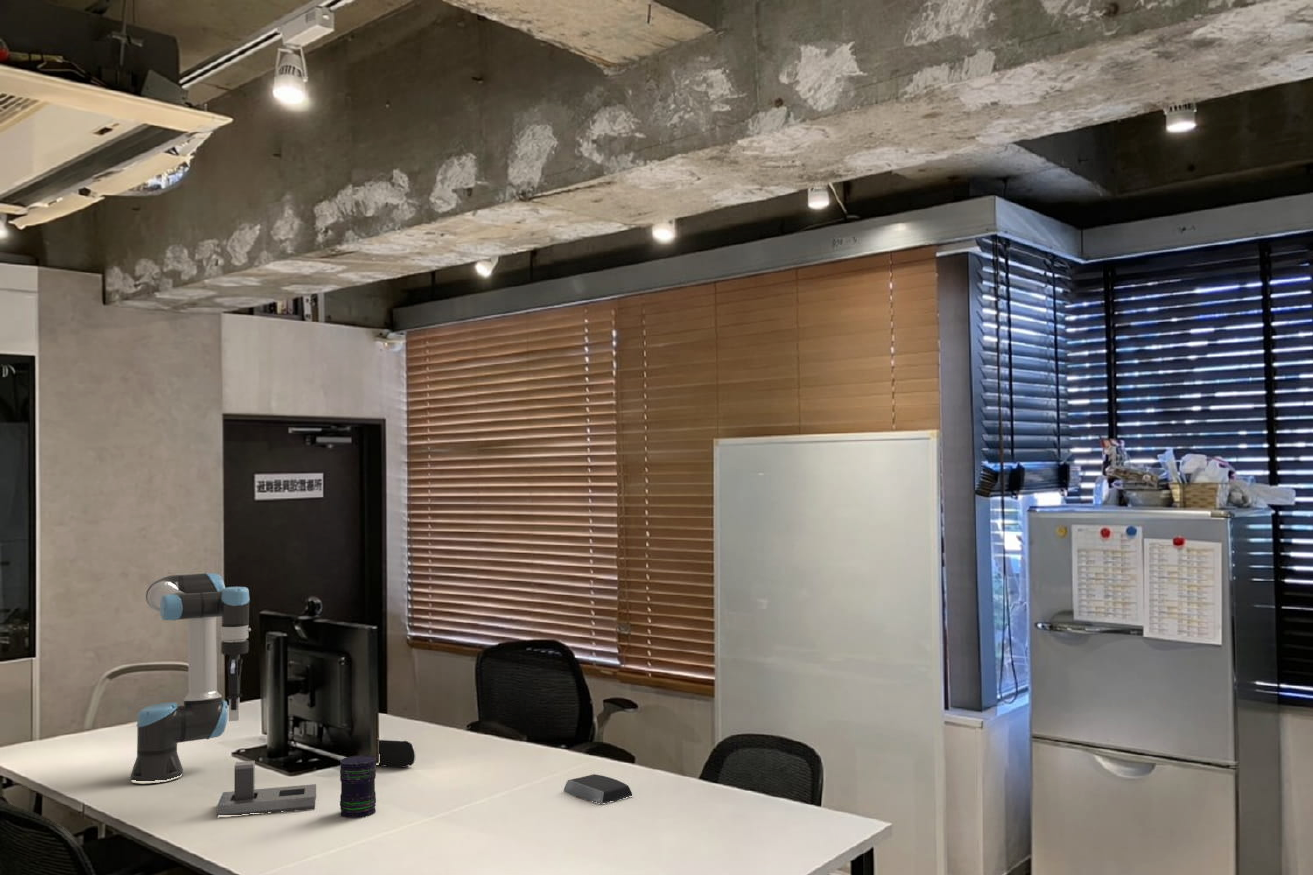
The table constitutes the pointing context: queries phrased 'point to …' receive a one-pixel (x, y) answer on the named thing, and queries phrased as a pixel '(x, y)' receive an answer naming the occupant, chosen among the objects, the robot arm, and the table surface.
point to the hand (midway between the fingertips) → (233, 720)
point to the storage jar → (357, 786)
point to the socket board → (269, 800)
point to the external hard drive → (598, 788)
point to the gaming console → (396, 752)
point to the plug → (244, 780)
